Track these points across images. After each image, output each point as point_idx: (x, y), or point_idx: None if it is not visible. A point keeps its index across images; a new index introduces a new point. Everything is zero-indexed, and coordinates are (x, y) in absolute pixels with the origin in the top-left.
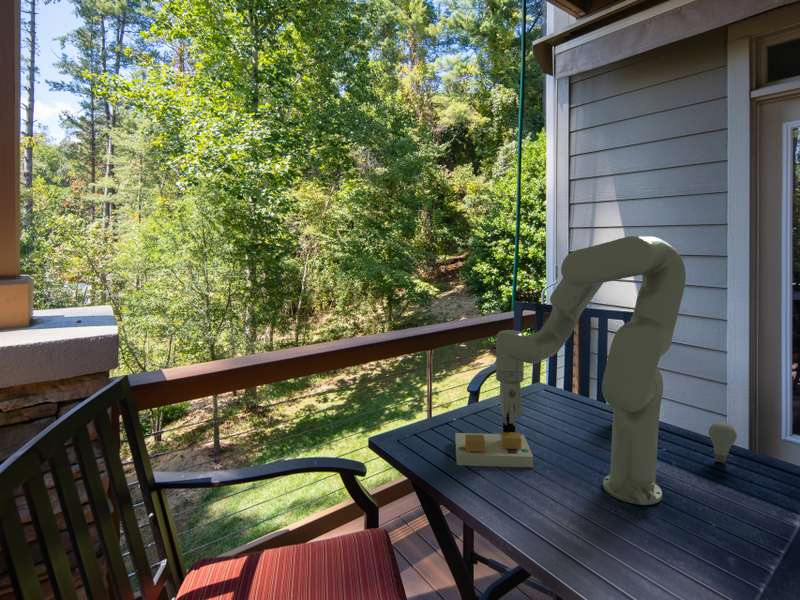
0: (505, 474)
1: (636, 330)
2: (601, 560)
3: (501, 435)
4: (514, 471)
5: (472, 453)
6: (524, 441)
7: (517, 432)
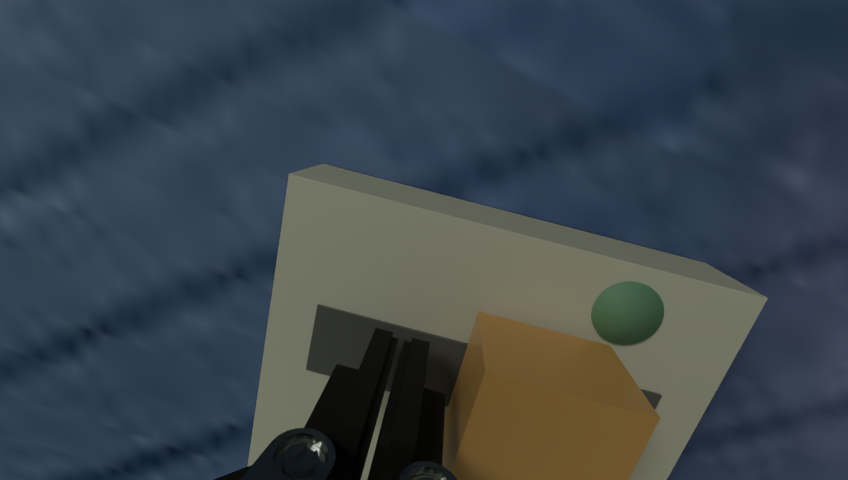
0: (716, 457)
1: None
2: None
3: None
4: None
5: None
6: (442, 235)
7: (481, 387)
